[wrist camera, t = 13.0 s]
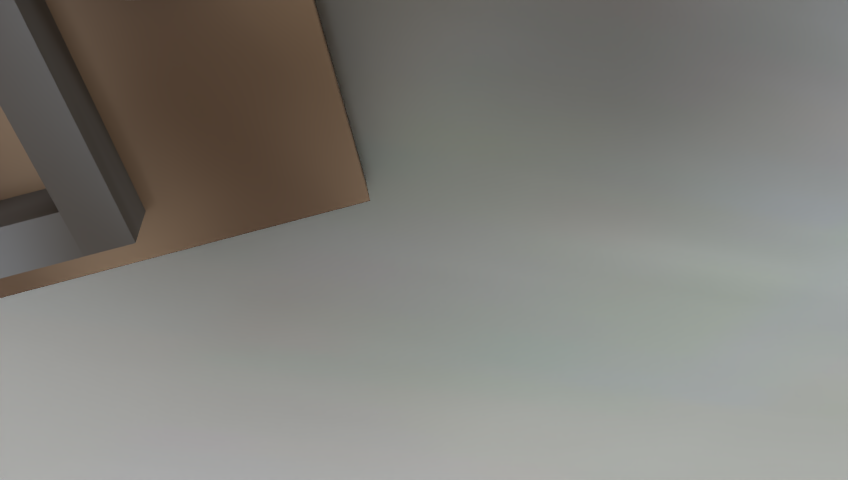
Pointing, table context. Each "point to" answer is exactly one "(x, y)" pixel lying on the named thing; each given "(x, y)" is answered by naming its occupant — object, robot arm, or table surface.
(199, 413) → the table surface
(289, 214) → the carrier board
